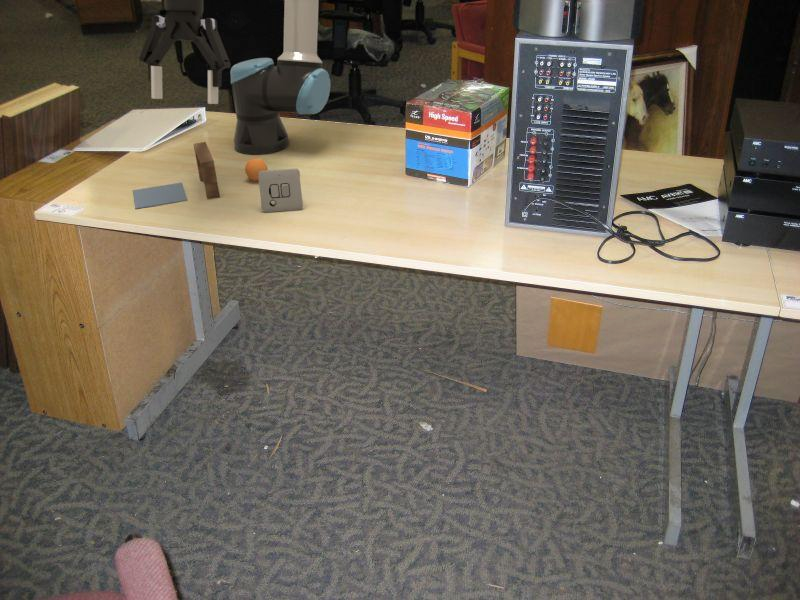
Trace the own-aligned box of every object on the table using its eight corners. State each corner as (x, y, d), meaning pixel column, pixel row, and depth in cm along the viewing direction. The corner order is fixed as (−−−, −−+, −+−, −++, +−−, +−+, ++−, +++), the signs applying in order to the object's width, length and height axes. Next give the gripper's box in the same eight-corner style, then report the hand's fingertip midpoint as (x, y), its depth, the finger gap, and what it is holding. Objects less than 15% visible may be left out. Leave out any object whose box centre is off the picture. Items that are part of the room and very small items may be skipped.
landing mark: (182, 183, 187) (182, 182, 187) (187, 200, 177) (187, 199, 177) (132, 190, 184) (132, 190, 184) (135, 209, 174) (135, 208, 174)
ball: (266, 174, 190) (263, 153, 187) (270, 181, 186) (268, 160, 183) (244, 177, 189) (241, 157, 186) (248, 185, 184) (245, 164, 181)
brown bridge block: (211, 176, 190) (205, 141, 185) (220, 197, 178) (213, 160, 174) (199, 178, 189) (193, 143, 185) (207, 199, 178) (200, 162, 173)
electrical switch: (262, 213, 170) (256, 173, 166) (263, 206, 174) (258, 167, 170) (303, 210, 171) (299, 171, 167) (303, 203, 175) (299, 164, 171)
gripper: (119, -14, 149) (122, 96, 155) (228, -10, 142) (227, 105, 148) (143, -9, 156) (145, 96, 162) (248, -4, 149) (246, 105, 154)
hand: (184, 101), depth 155 cm, fingers open, 13 cm apart
